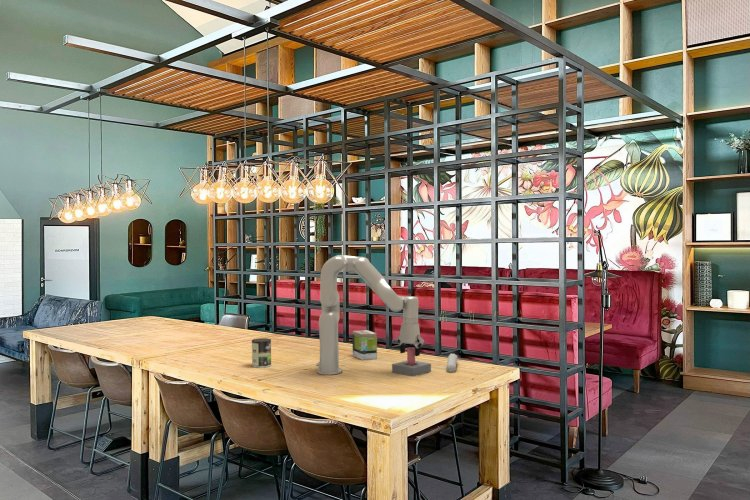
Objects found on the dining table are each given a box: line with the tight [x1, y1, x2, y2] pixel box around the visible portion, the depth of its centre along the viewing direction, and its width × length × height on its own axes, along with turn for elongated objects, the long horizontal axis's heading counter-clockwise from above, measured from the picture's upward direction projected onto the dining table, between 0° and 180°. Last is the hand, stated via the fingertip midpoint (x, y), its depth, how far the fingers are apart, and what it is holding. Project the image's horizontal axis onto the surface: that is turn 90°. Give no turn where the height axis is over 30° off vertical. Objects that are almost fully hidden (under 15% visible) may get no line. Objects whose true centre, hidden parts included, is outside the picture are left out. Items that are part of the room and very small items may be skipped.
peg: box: [406, 347, 416, 365], centre depth 293 cm, size 4×4×12 cm
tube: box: [445, 353, 459, 373], centre depth 302 cm, size 5×5×25 cm
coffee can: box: [251, 337, 272, 369], centre depth 311 cm, size 10×10×14 cm
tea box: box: [351, 329, 378, 361], centre depth 331 cm, size 15×10×15 cm
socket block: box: [391, 360, 432, 377], centre depth 293 cm, size 14×14×4 cm
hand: (409, 354), depth 293 cm, fingers open, 9 cm apart
